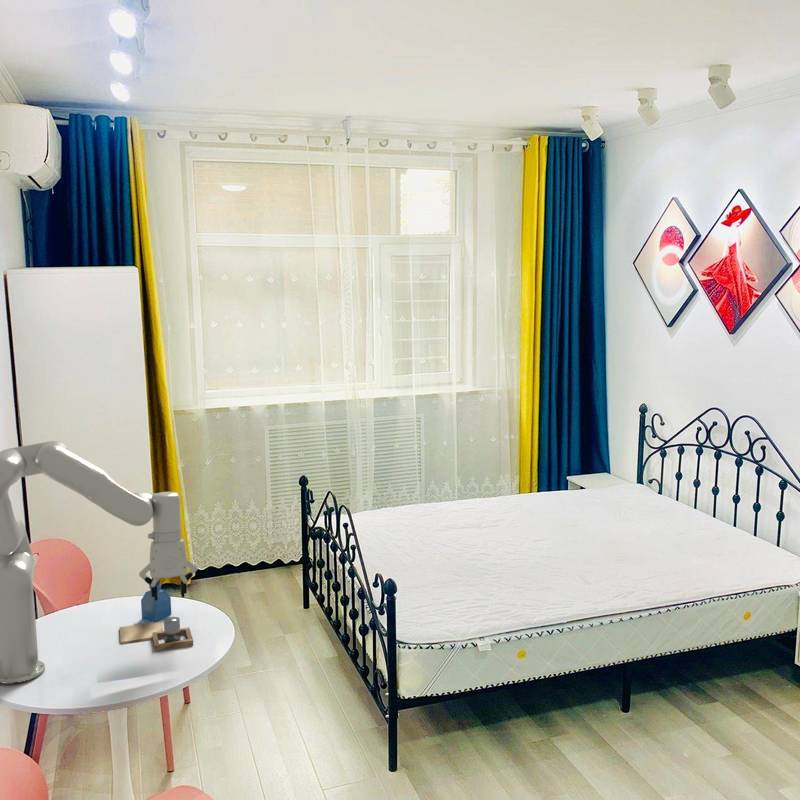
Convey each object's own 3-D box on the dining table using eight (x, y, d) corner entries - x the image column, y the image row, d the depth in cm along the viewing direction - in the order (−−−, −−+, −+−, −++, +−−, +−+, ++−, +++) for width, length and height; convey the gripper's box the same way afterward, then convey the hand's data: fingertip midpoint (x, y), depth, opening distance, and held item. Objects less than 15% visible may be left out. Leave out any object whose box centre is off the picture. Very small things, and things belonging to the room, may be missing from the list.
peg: (165, 645, 228) (164, 623, 227) (164, 640, 232) (163, 618, 231) (181, 643, 229) (180, 621, 229) (179, 637, 234) (178, 615, 233)
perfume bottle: (171, 616, 250) (169, 579, 249) (155, 623, 245) (153, 585, 244) (157, 613, 254) (155, 576, 252) (142, 619, 248) (140, 581, 247)
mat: (120, 644, 230) (120, 641, 230) (119, 629, 241) (119, 627, 241) (164, 637, 234) (164, 635, 234) (161, 623, 245) (161, 621, 245)
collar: (154, 651, 224) (154, 646, 224) (152, 637, 234) (152, 632, 234) (193, 645, 228) (193, 640, 228) (189, 632, 237) (189, 627, 237)
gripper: (135, 542, 221) (137, 605, 223) (200, 536, 227) (202, 598, 229) (134, 535, 228) (136, 597, 230) (197, 530, 234) (199, 589, 236)
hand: (169, 597), depth 229 cm, fingers open, 6 cm apart
